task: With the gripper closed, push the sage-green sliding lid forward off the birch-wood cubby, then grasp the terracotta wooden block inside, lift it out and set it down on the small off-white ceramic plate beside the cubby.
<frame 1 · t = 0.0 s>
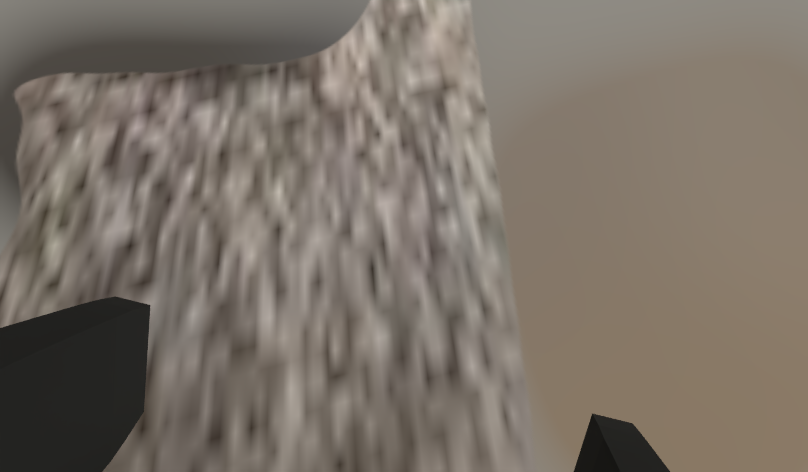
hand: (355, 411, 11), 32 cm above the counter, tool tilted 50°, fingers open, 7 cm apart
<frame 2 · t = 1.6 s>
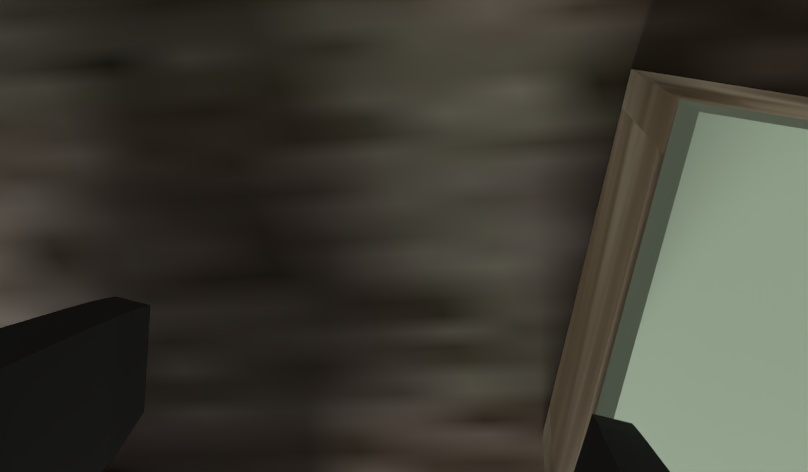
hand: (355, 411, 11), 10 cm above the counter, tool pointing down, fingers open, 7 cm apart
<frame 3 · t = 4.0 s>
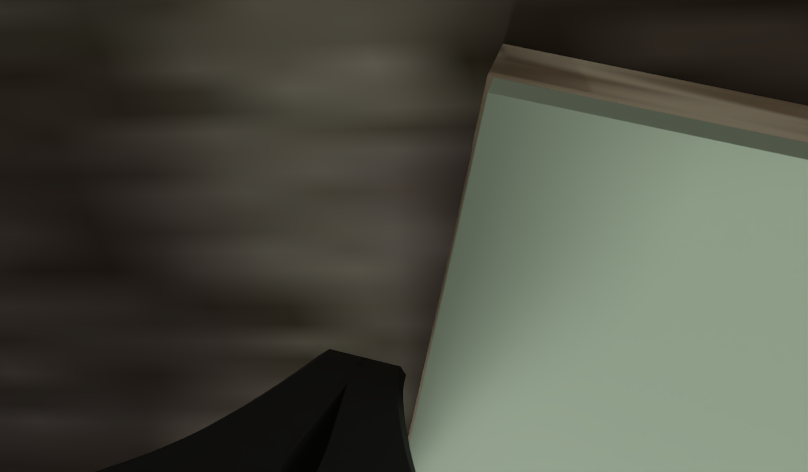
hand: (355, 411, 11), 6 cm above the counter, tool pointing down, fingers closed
cubby: (746, 345, 17), on the counter
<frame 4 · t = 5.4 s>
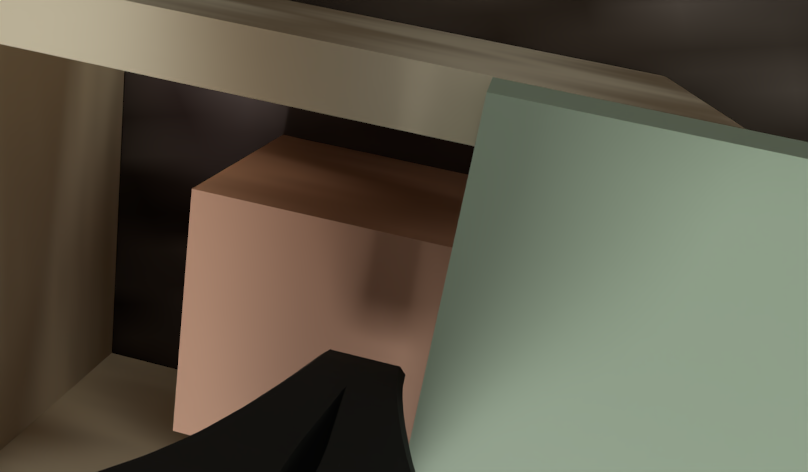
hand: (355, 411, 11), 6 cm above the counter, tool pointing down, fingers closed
block: (369, 254, 18), on the counter
cubby: (329, 247, 18), on the counter
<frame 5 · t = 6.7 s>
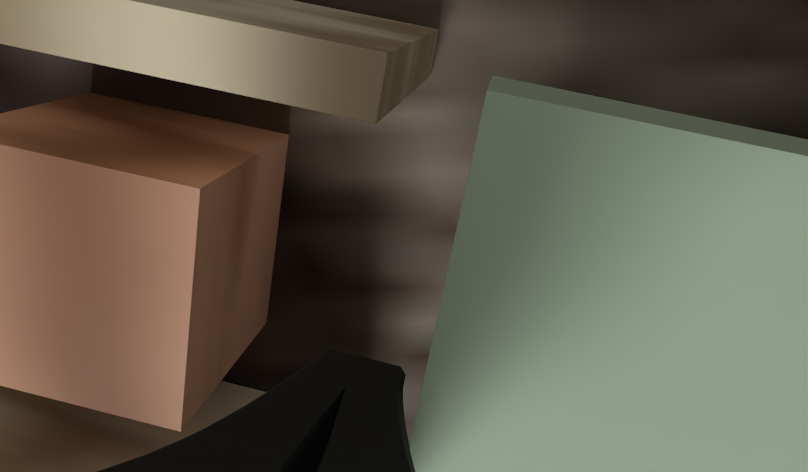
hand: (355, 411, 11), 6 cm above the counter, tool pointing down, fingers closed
block: (182, 210, 18), on the counter
cubby: (142, 203, 18), on the counter
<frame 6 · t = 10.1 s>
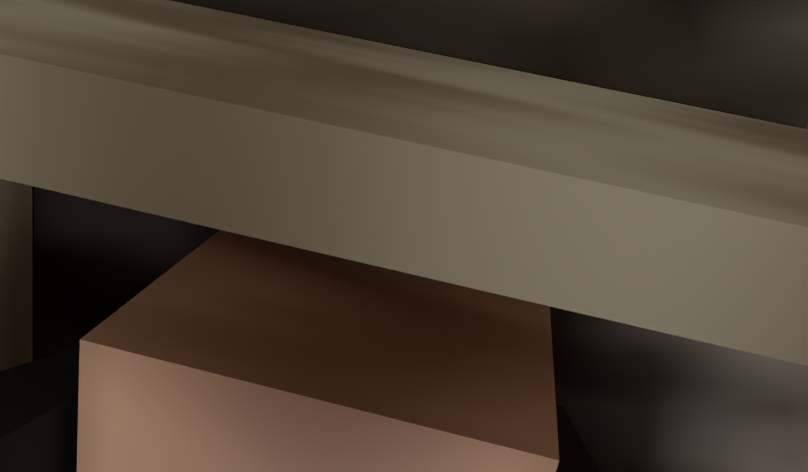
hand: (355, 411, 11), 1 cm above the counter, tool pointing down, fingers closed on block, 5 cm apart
block: (372, 367, 13), on the counter, touching gripper
cubby: (318, 354, 13), on the counter
when the fingers open (3 cm above the counter, at t = 14.0 s): block drops 1 cm, resting on plate.
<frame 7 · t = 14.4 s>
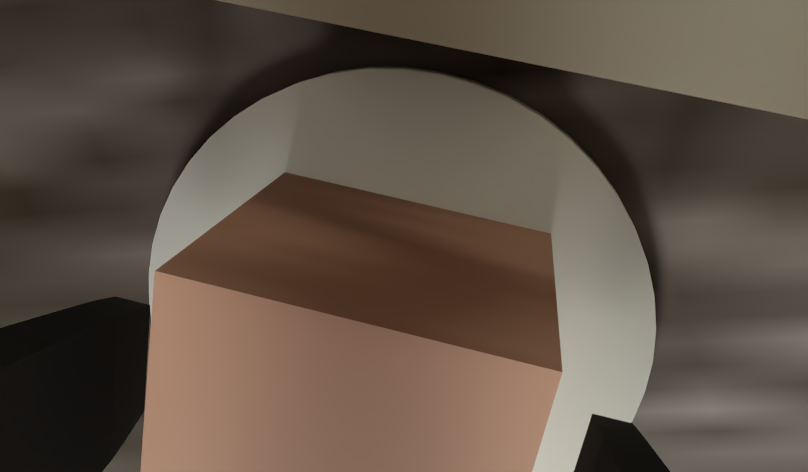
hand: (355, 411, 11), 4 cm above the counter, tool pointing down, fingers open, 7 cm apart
plate: (394, 317, 15), on the counter
block: (391, 322, 14), point 1 cm above the counter, touching plate
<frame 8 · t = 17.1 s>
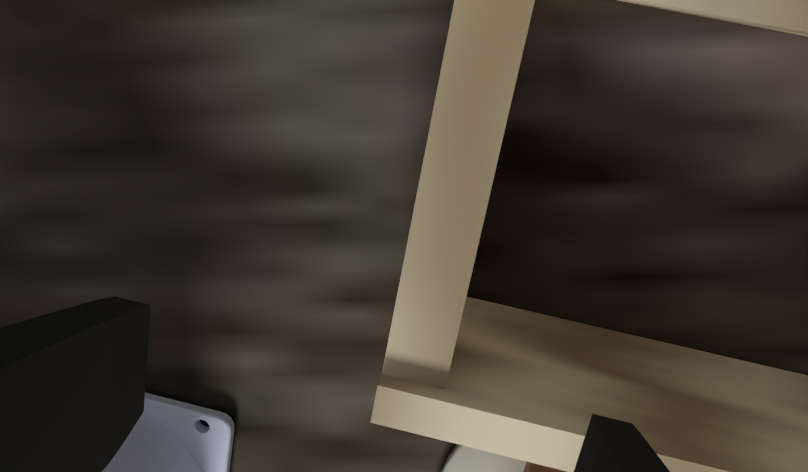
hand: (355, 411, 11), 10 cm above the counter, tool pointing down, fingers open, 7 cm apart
cubby: (694, 194, 20), on the counter
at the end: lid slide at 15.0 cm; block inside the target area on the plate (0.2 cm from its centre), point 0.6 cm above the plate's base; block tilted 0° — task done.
